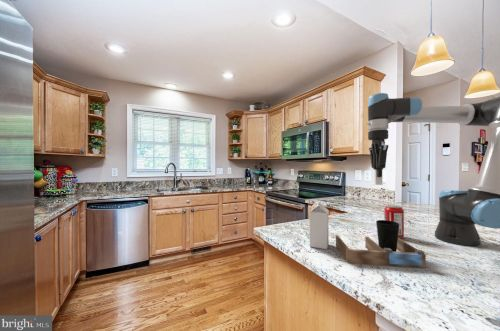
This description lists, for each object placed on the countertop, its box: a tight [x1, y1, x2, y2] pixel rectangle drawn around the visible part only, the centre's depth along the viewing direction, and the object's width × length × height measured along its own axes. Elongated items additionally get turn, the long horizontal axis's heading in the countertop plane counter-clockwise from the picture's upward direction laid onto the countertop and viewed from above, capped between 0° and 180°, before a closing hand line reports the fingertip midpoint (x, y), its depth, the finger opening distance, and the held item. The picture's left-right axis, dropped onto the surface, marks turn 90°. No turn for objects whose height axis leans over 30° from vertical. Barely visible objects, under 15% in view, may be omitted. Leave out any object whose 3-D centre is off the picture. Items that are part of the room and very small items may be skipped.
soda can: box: [383, 204, 405, 239], centre depth 101 cm, size 8×8×15 cm
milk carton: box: [309, 200, 330, 250], centre depth 90 cm, size 7×7×19 cm
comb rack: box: [335, 234, 427, 269], centre depth 80 cm, size 25×17×6 cm
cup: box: [375, 219, 399, 252], centre depth 83 cm, size 8×8×12 cm
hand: (378, 184), depth 90 cm, fingers closed
